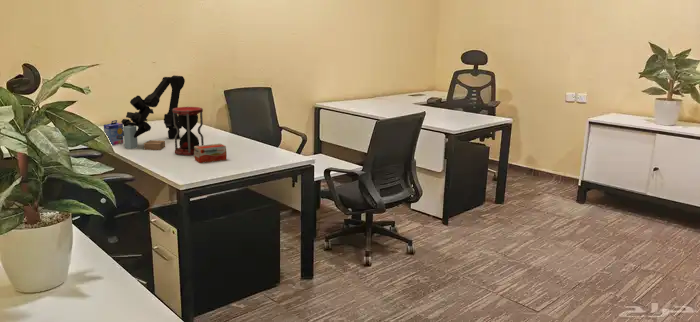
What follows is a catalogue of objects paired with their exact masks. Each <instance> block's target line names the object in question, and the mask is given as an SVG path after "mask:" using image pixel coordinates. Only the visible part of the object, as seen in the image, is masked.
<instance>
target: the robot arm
mask: <svg viewBox="0 0 700 322" xmlns="http://www.w3.org/2000/svg"><path fill="white" fill-rule="evenodd" d="M185 82H186V79H185V77H184V76H182V75H175V74H174V75H172V76H164V77H162V78H161V81H160V82H159V84H158V85H156V87H155V89H154V90H153V92H151V93H150V94H148V95H147V96H145V98H144V99H143V98H142V97H141V96H140V95H136V96H135V97H133V98H130V101H129V103H130V105H132V107H133V108H134V109H135V110H136V111H135V112H131V111H127V113H126V115H125V117H126V118H122V120H121V122H120V123H122V124H123V127H125V126H136V127H137V128H136V129H137V131H136V133H135V135H134V138H136V137H137V138H138V137H139V136H141V135H143V134H145V133H147V132H150V131H151V129H152V126H151V125H150V124H149V123H148V122H147V121H148V119H147V118H148V116H149V115H150V114H154V109H153V108H157V107H158V105H159V103H160V102H161V101H160V100H161V99H160V98H161V96H162V95H163V94H164V92H165V91H166V90H167V88H168V87H169V86H170V87H171V93H170V94H171V95H170V99H169V100H170V101H169V107H168V112H167V113H164V116H163V123H164V125H165V128H166V129H168V130H167V137H168V139H169V140H171V139H172V140H173V139H174V140H175V135H176V134H177V129H176V127H175V126H174V118H173V111H172V109H173V108H178V107H179V100H180V94H181V91H182V89H183V88H184V85H185ZM175 114H176V125H177V127H178V128H179V130H181V129H182V128H183V127H182V126H181V125H180V123H179V121H178V114H177V113H175ZM122 135H123V137H124V132H123V134H122ZM178 139H181V136H180V133H179V135H178V136H177V140H178Z"/></svg>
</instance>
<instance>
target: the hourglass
mask: <svg viewBox="0 0 700 322" xmlns="http://www.w3.org/2000/svg"><path fill="white" fill-rule="evenodd" d="M172 111H173V118H174V126H175V127H176V129H177V134H176V135H175V139H174V154H175V155H178V156H184V157H185V156H187V157H188V156H190V157H191V156H194V146H200V143H201V145H205V144H204V135H203V134H202V132H201V128H202V127H203V111H204V109H203V108H202V107H198V106H180V107H179V106H178V108H173V109H172ZM175 113H177V115H178V121H179V123H180V125H181V126H182V128H183V129H184V130H185V133H183V134H182V136H180V138H179V143H178V139H177V136H178V135H179V134H180V132H181V129H179V128H178V127H177V125H176V114H175ZM199 116H200V117H199ZM199 119H200V125H199V126H198V127H197V132H198V134H199V136H200V139H201V141H200V139H199V138H198V137H197V135H195V134H194V132H192V130H193V129H194V128H195V127H196V125H197V124H198V123H199ZM178 144H179V147H178Z"/></svg>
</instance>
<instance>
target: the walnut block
mask: <svg viewBox="0 0 700 322" xmlns="http://www.w3.org/2000/svg"><path fill="white" fill-rule="evenodd" d="M164 148H166V140H156V139H155V140H154V139H153V140H152V139H149V140H148V141H146V142H144V143H143V150H144V151H161V150H162V149H164Z"/></svg>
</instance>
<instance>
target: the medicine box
mask: <svg viewBox="0 0 700 322" xmlns="http://www.w3.org/2000/svg"><path fill="white" fill-rule="evenodd" d="M193 157H194V161H196V162H197V163H199V164H203V162H205V163H213V162H221V161H220V160H222V161H227V146H226V145H225V144H222V143H214V144H213V143H212V144H204V145H202V144H201V145H199V146H194V155H193ZM212 161H213V162H212Z"/></svg>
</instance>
